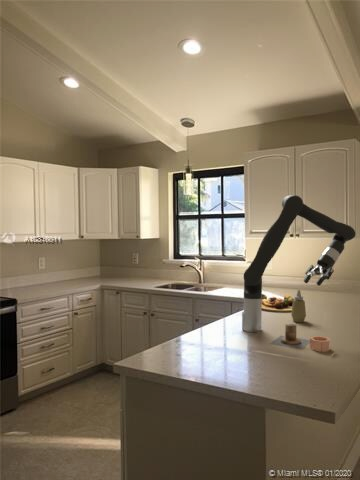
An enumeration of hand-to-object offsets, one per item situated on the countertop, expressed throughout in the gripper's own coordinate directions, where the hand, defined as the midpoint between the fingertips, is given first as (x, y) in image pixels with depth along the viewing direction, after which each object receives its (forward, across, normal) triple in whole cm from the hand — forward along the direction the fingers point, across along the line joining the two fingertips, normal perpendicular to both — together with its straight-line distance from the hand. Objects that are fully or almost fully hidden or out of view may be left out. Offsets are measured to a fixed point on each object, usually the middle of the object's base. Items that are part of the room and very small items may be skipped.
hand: (311, 283), depth 197 cm
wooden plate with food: (-2, -64, +41) cm, 76 cm away
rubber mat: (+30, +3, +8) cm, 31 cm away
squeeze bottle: (+7, -28, +31) cm, 43 cm away
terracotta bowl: (+26, +16, +11) cm, 33 cm away
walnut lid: (+29, +3, +7) cm, 30 cm away
